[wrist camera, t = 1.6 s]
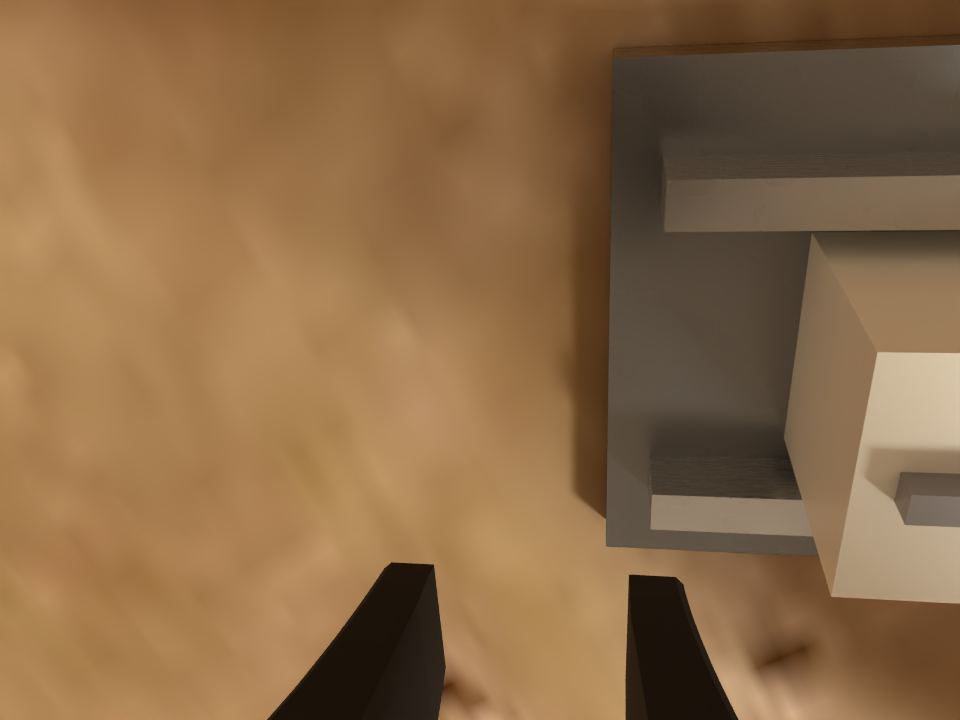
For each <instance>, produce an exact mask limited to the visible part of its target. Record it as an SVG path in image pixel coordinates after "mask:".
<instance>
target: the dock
mask: <svg viewBox="0 0 960 720" xmlns="http://www.w3.org/2000/svg"><path fill="white" fill-rule="evenodd" d="M898 231H960V35H944V36H919V37H893V38H868V39H842V40H817V41H791V42H766V43H740V44H715V45H689V46H664V47H638V48H613V101H612V169H611V236H610V304H609V371H608V439H607V506H606V546H608V547H629V548H650V549H672V550H693V551H715V552H736V553H757V554H779V555H800V556H819V554H818V551H817V548H816V544H815V541H814V538H813V534H812V531H811V527H810V524H809V521H808V517H807V514H806V511H805V507H804V504H803V501H802V497H801V494H800V490H799V487H798V484H797V480H796V477H795V474H794V470H793V467H792V464H791V460H790V457H789V453H788V450H787V447H786V443H785V440H784V433H785V426H786V419H787V411H788V404H789V397H790V389H791V382H792V375H793V367H794V360H795V353H796V345H797V338H798V331H799V323H800V316H801V309H802V301H803V294H804V287H805V279H806V272H807V265H808V257H809V250H810V243H811V235H812V232H898Z"/></svg>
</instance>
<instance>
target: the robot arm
mask: <svg viewBox="0 0 960 720" xmlns="http://www.w3.org/2000/svg"><path fill="white" fill-rule="evenodd" d="M445 668H446V666H445V657H444V649H443V640H442V631H441V623H440V614H439V605H438V597H437V588H436V579H435V571H434V565H431V564H411V563H390V564H389V565H388V566H387V567H386V568H384V570H383V571H382V573H381V574H380V576H379V577H378V579H377V580H376V582H375V583H374V585H373V586H372V588H371V589H370V590H369V592H368V593H367V595H366V596H365V598H364V599H363V600H362V602H361V603H360V605H359V606H358V607H357V609H356V610H355V612H354V613H353V614H352V616H351V617H350V618H349V620H348V621H347V622H346V624H345V625H344V626H343V628H342V629H341V631H340V632H339V633H338V635H337V636H336V637H335V639H334V640H333V641H332V642H331V644H330V645H329V646H328V647H327V649H326V650H325V651H324V652H323V654H322V655H321V656H320V657H319V659H318V660H317V661H316V663H315V664H314V665H313V666H312V668H311V669H310V670H309V671H308V673H307V674H306V675H305V676H304V678H303V679H302V680H301V681H300V683H299V684H298V685H297V686H296V687H295V689H294V690H293V691H292V692H291V693H290V694H289V695H288V697H287V698H286V699H285V700H284V701H283V702H282V703H281V705H280V706H279V707H278V708H277V709H276V710H275V711H274V712H273V714H272V715H271V716H270V717H269V718H268V719H267V720H438V716H439V709H440V703H441V696H442V689H443V682H444V675H445ZM626 720H738V718H737V716H736V714H735V712H734V710H733V708H732V706H731V704H730V702H729V700H728V698H727V696H726V694H725V692H724V690H723V688H722V685H721V683H720V681H719V679H718V677H717V675H716V673H715V670H714V668H713V666H712V664H711V661H710V659H709V657H708V654H707V652H706V649H705V647H704V645H703V642H702V640H701V637H700V635H699V632H698V630H697V627H696V624H695V622H694V619H693V616H692V613H691V610H690V607H689V604H688V600H687V597H686V594H685V590H684V585H683V584H682V583H681V582H680V581H679V580H678V579H677V578H676V577H664V576H645V575H629V593H628V623H627V654H626Z"/></svg>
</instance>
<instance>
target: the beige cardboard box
mask: <svg viewBox="0 0 960 720" xmlns="http://www.w3.org/2000/svg"><path fill="white" fill-rule="evenodd" d="M784 440H785V443H786V447H787V450H788V453H789V457H790V460H791V464H792V467H793V470H794V474H795V477H796V480H797V484H798V487H799V490H800V494H801V497H802V501H803V504H804V507H805V511H806V514H807V517H808V521H809V524H810V527H811V531H812V534H813V538H814V541H815V544H816V548H817V551H818V554H819V558H820V561H821V564H822V568H823V571H824V575H825V578H826V581H827V585H828V588H829V591H830V595H831V597H843V598H862V599H881V600H899V601H918V602H937V603H956V604H960V231H898V232H812V235H811V243H810V250H809V257H808V265H807V272H806V279H805V287H804V294H803V301H802V309H801V316H800V323H799V331H798V338H797V345H796V353H795V360H794V367H793V375H792V382H791V389H790V397H789V404H788V411H787V419H786V426H785V433H784Z"/></svg>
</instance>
